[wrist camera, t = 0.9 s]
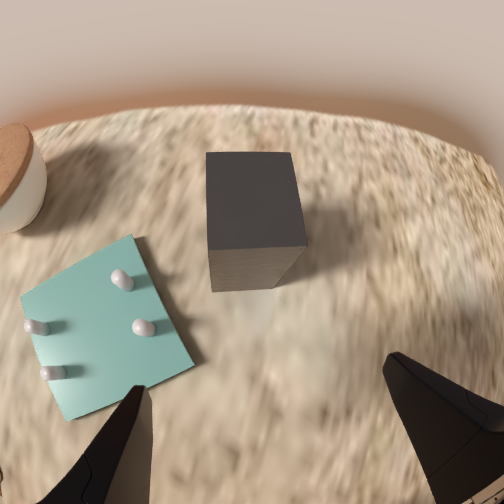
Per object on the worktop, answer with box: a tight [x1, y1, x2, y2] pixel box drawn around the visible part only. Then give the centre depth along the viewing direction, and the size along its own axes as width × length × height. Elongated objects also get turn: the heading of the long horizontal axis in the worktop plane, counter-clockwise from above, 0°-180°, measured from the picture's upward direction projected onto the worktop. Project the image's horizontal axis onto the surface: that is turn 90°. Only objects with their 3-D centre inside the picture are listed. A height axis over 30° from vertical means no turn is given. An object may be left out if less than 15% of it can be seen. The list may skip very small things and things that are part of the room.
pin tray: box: [20, 234, 195, 422], centre depth 19 cm, size 12×13×4 cm
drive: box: [206, 152, 308, 292], centre depth 20 cm, size 6×5×10 cm
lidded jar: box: [0, 123, 47, 235], centre depth 19 cm, size 11×11×9 cm
